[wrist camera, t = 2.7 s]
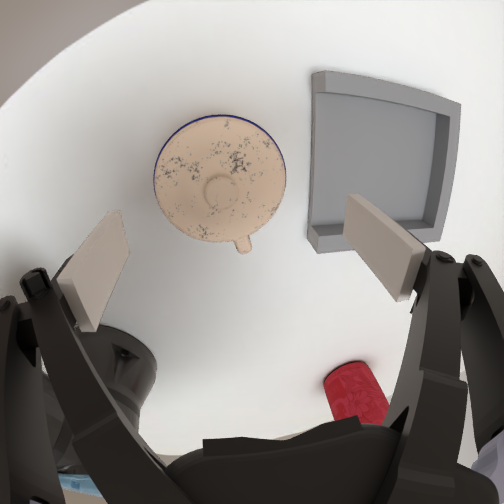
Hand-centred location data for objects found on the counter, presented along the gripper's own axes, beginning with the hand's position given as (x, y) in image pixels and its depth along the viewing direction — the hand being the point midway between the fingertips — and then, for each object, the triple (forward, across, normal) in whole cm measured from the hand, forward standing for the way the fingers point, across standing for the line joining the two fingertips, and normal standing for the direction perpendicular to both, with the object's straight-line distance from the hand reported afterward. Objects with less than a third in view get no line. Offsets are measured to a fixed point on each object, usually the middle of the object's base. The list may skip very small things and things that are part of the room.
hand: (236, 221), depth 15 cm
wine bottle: (+13, +20, -38) cm, 45 cm away
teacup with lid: (+13, 0, 0) cm, 13 cm away
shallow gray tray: (+13, +18, +1) cm, 22 cm away
